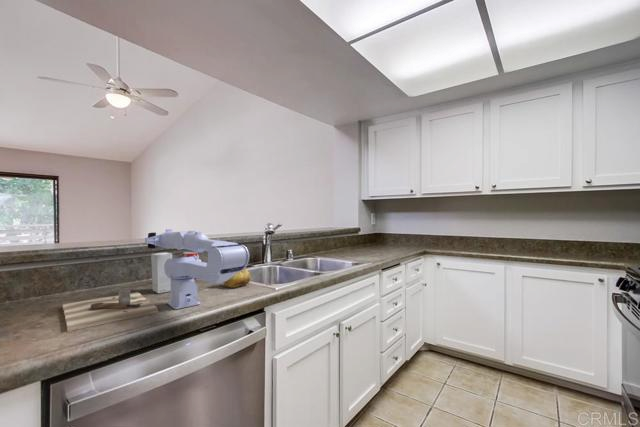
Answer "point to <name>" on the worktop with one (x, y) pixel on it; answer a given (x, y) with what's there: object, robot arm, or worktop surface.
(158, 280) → the skincare box
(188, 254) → the soda can
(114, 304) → the lever
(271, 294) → the worktop surface
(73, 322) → the dial board
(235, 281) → the potato
